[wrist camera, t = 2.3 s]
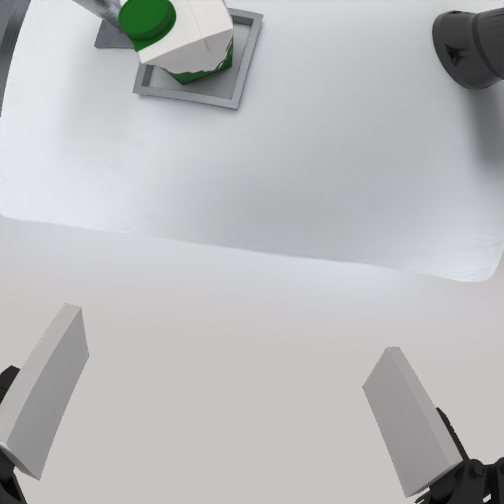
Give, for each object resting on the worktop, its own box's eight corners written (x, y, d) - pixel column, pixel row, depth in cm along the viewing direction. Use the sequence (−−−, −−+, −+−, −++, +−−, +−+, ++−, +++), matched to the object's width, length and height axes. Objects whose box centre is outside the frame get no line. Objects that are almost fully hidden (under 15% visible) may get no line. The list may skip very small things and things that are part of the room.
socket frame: (164, 8, 29) (160, 0, 26) (261, 21, 31) (263, 14, 28) (139, 94, 35) (132, 92, 32) (236, 109, 37) (237, 108, 34)
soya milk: (158, 42, 32) (102, -11, 13) (220, 18, 31) (210, -54, 13) (178, 93, 35) (128, 69, 17) (241, 70, 34) (246, 23, 16)
